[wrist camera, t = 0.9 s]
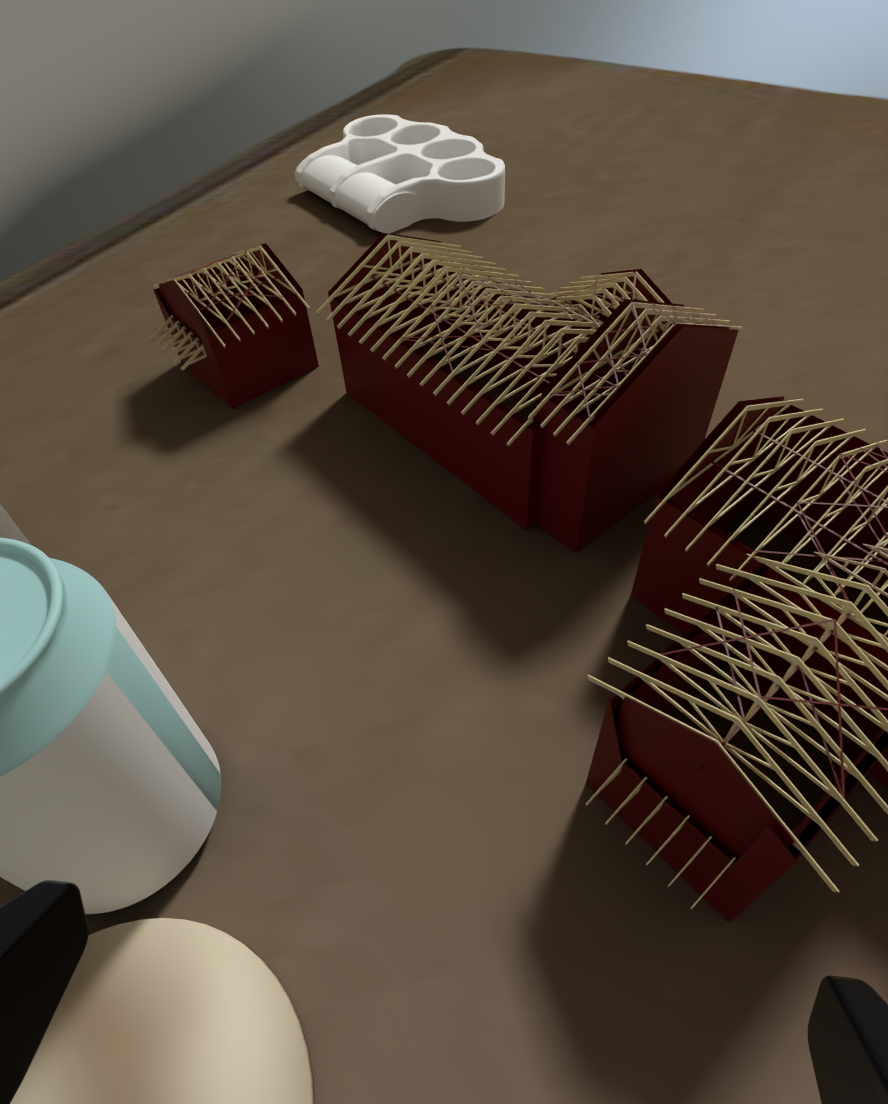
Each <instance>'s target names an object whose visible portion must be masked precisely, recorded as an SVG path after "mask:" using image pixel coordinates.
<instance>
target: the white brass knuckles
mask: <svg viewBox="0 0 888 1104" xmlns="http://www.w3.org/2000/svg"><path fill="white" fill-rule="evenodd" d="M343 137H344V139H343V140H342V141H341V142H338V143H335V144H332V145H329V146H326V147H323V148H321V149H320V150H318V151H316V152H314V153H313V154H311V155H309V156H307V158H306V159H304V160H303V161H302V162H301V163H300V164H299V166H298V167H297V169H296V171H295V178H296V181H297V183H298V184H299V186H300V187H302V188H304V189H307V190H309V191H311V192H313V193H315V194H316V195H318V196H320V197H321V198H323V199H325V200H326V201H328V202H330V203H331V204H332V206H334V207H336V208H339V209H341V210H343V211H345V212H347V213H348V214H350V215H352V216H354V217H355V218H357V219H359V220H360V221H362V222H364V223H365V224H367V225H368V227H370V228H371V229H374V230H377V231H379V232H382V233H388V234H390V233H393V232H395V231H398V230H400V229H403V228H405V227H407V226H410V225H411V224H412V223H415V222H417V221H420V220H422V219H433V218H440V219H444V220H449V221H459V222H465V221H475V220H481V219H485V218H488V217H490V216H493V215H495V214H496V213H498V212H499V211H500V210H501V209H502V208H503V206H504V190H505V165H504V162H503V161H502V160H501V159H497V158H495V157H492V156H490V155H487V154H485V153H484V152H483V145H482V144H481V143H480V142H478V141H477V140H476V139H475V138H473V137H471V136H464V135H460V134H457V133H454V132H452V131H451V130H450V129H449V128H448V127H447V126H443V125H438V124H434V123H420V122H411V121H407V120H404V119H402V118H400V117H399V116H397V115H373V116H367V117H363V118H359V119H356V120H354V121H352V122H350V123H349V124H347V125H346V126H345V128H344V130H343Z"/></svg>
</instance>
